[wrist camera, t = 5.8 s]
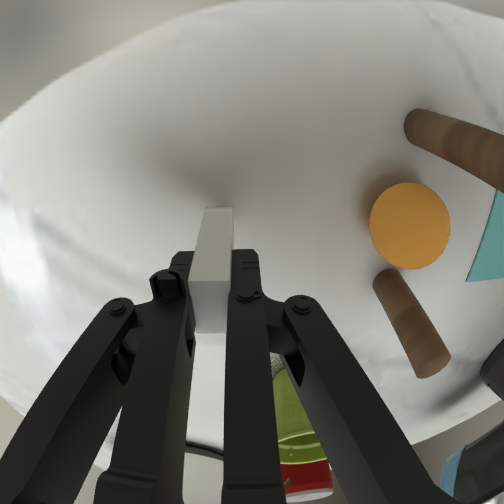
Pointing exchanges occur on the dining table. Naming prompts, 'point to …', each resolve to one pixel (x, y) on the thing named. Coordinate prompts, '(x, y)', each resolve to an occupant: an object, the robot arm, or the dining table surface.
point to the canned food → (306, 481)
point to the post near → (459, 144)
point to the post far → (411, 324)
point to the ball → (409, 225)
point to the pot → (202, 476)
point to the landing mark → (491, 245)
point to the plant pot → (293, 425)
